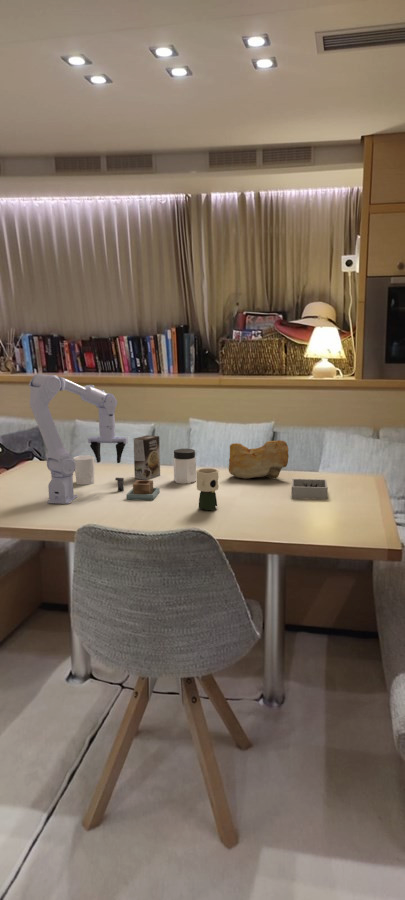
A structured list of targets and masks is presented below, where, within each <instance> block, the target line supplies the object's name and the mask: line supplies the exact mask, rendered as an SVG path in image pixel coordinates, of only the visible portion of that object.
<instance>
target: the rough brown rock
mask: <svg viewBox="0 0 405 900" xmlns="http://www.w3.org/2000/svg"><path fill="white" fill-rule="evenodd" d="M289 457H290V456H289V446H288V444H287V442H286V441H285V440H280V439H279V440H269V441H266V442H265V443H264V444H263V445H261V446H259V447H256V448H248V447H247V446H245V445H243V444H242V443H238V442H237V443H231V444H230V445H229V459H228V472H229V475H231V476H234V477H235V478H240V479H251V478H263V477H267V478H269V479H272V478H275V479H277V478H279V476H280V472H281V471H282V469H283V468H286V467H287V465H289Z"/></svg>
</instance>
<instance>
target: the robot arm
mask: <svg viewBox="0 0 405 900" xmlns="http://www.w3.org/2000/svg"><path fill="white" fill-rule="evenodd" d="M28 387H29V388H30V389H29V391H30V393H29V406H30V409H31V411H32V415H33V417H34V419H35V422H36V424H37V427H38V430H39V432H40V434H41V437H42V440H43V443H44V444H45V447H46V450H47V451H46V453H45V457H46V467H47V469H48V470H49V471H50V474H51V475H50V479H51V480H50V481H49V483H48V487H47V488H48V489H47V490H48V498H49V499H48V500H47V501H46V504H63V505H64V504H65V505H67V504H70V503H72V502H73V501H74V500H75V499H76V498H78V496H79V495H78V494H74V480H73V479H74V478H73V476H74V473H75V469H76V463H75V461H74V458H73V457H72V456H71V454H70V453H69V451H68V450H67V449H66V448H65V447H64V445H63V442H62V439H61V436H60V434H59V431H58V429H57V426H56V424H55V421H54V418H53V416H52V413H51V410H50V408H49V404H50V402H51V401H53V398H55V396H57V394H58V393H59V392H62V391H66V392H69V393H71V394H75V395H78V396H79V398H80V399H81V400H82V401H84V402H86V403H88V404H90V405H93V406H96V408H98V411H97V412H98V426H99V427H98V428H99V429H98V430H99V436H89V437H88V438H87V444H90V445H89V447H90V448H91V450H92V452H93V453H94V458H95V459H96V463H98V464H99V463H100V462H101V444H115V451H116V463H117V464H120V463H121V461H122V455H123V452H124V449H125V446H126V444H128V443H129V441H128V437H125V436H124V437H123V436H116V420H115V418H116V417H115V416H116V415H115V413H116V407H117V405H118V400H117V399H116V396H115V395H114V394H113V393H107V392H105V390H104V389H99V388H96V386H95V385H93V384H87V385H84V386H83V385H80V384H78V383H75V382H73V381H72V380H69V379H68V378H65V377H62V376H58V375H54V374H50V375H49V374H43V373H37V374H35V375H33V377H32V378H31V380H30V381H29V383H28Z"/></svg>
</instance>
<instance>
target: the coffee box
mask: <svg viewBox="0 0 405 900" xmlns="http://www.w3.org/2000/svg"><path fill="white" fill-rule="evenodd" d="M160 447H161V446H160V436H158V435H149V434H147V435H142V436H138V437H135V438H133V460H134V461H133V462H134V463H133V465H134V466H133V467H134V479H137V480H151V479H154V478H156V477H160V476H161V459H160V458H161V457H160V456H161V455H160V451H161V450H160Z"/></svg>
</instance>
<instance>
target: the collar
mask: <svg viewBox="0 0 405 900" xmlns="http://www.w3.org/2000/svg"><path fill="white" fill-rule="evenodd" d="M132 488H133V494H152V493H153V488H154V480H151V479H148V480H143V479H137V480H136V481H135V482H133V483H132Z"/></svg>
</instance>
